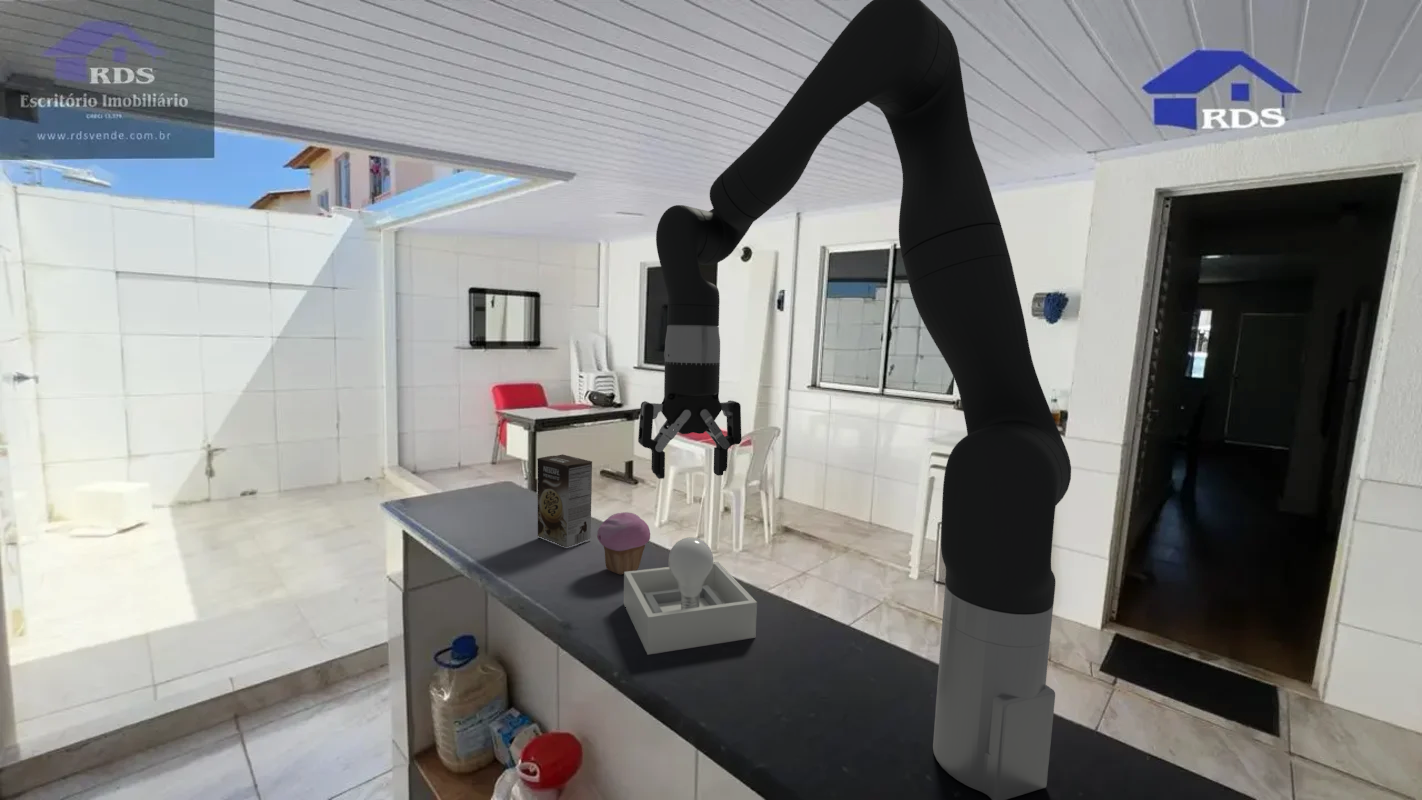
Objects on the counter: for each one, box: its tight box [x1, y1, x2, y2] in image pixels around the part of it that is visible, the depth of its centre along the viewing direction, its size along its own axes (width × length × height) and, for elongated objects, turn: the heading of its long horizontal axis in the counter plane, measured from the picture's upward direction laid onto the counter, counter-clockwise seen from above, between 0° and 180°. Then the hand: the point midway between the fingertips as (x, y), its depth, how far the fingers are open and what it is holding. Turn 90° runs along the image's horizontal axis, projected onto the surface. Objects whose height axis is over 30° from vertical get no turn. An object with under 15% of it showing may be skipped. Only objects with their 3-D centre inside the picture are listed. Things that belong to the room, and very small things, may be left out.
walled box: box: [623, 561, 758, 656], centre depth 85 cm, size 15×15×5 cm
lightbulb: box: [667, 537, 714, 610], centre depth 84 cm, size 6×6×11 cm
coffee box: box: [536, 453, 593, 547], centre depth 115 cm, size 9×6×16 cm
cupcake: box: [596, 511, 651, 575], centre depth 102 cm, size 9×9×10 cm
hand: (689, 475), depth 83 cm, fingers open, 8 cm apart
